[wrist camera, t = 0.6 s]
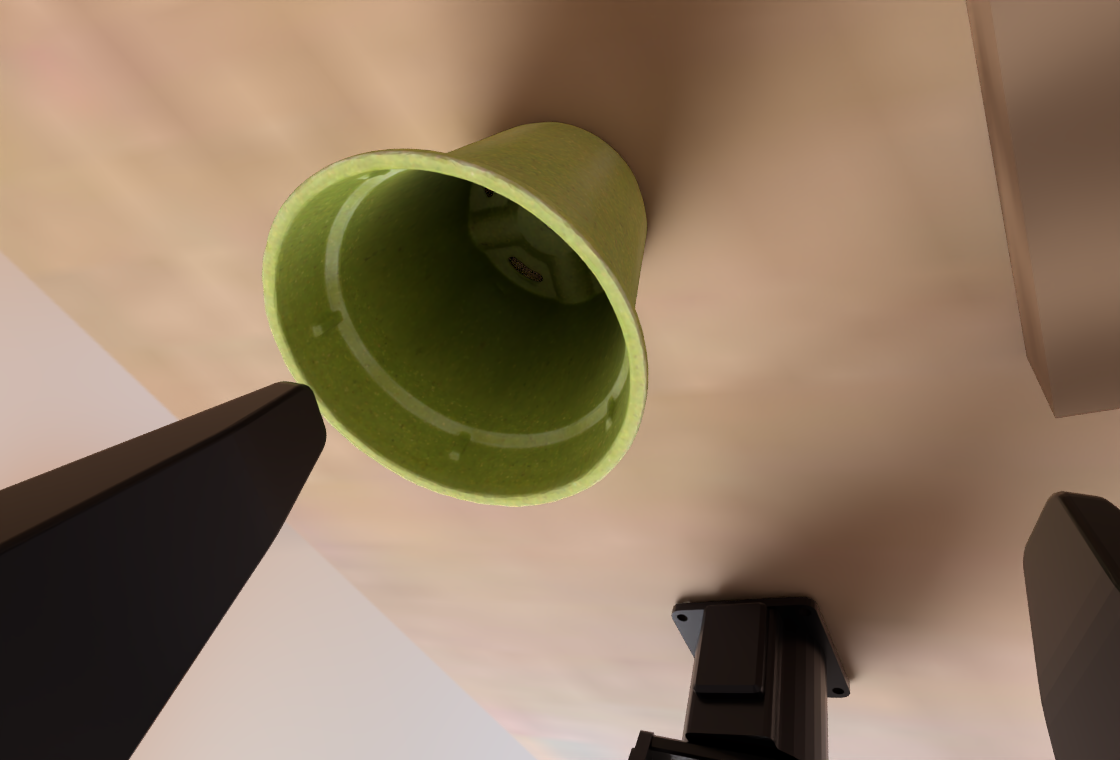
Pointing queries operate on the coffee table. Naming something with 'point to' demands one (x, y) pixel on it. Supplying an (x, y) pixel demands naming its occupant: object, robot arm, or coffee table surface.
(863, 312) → the coffee table surface
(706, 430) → the coffee table surface
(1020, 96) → the walnut base
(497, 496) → the plant pot
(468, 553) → the coffee table surface
